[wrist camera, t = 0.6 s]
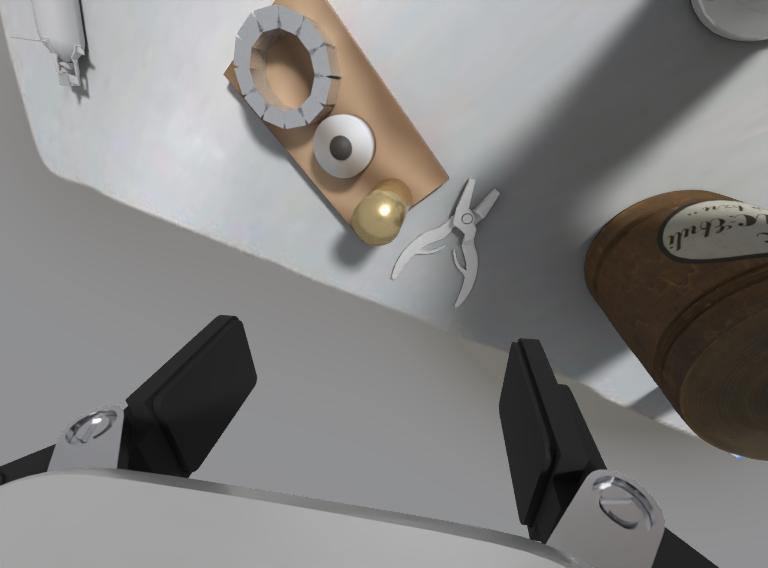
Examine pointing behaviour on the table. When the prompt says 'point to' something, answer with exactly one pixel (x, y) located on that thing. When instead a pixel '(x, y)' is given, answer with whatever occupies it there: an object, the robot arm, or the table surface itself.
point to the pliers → (466, 223)
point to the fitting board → (350, 99)
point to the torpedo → (61, 35)
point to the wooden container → (693, 308)
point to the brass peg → (382, 212)
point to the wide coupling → (253, 62)
